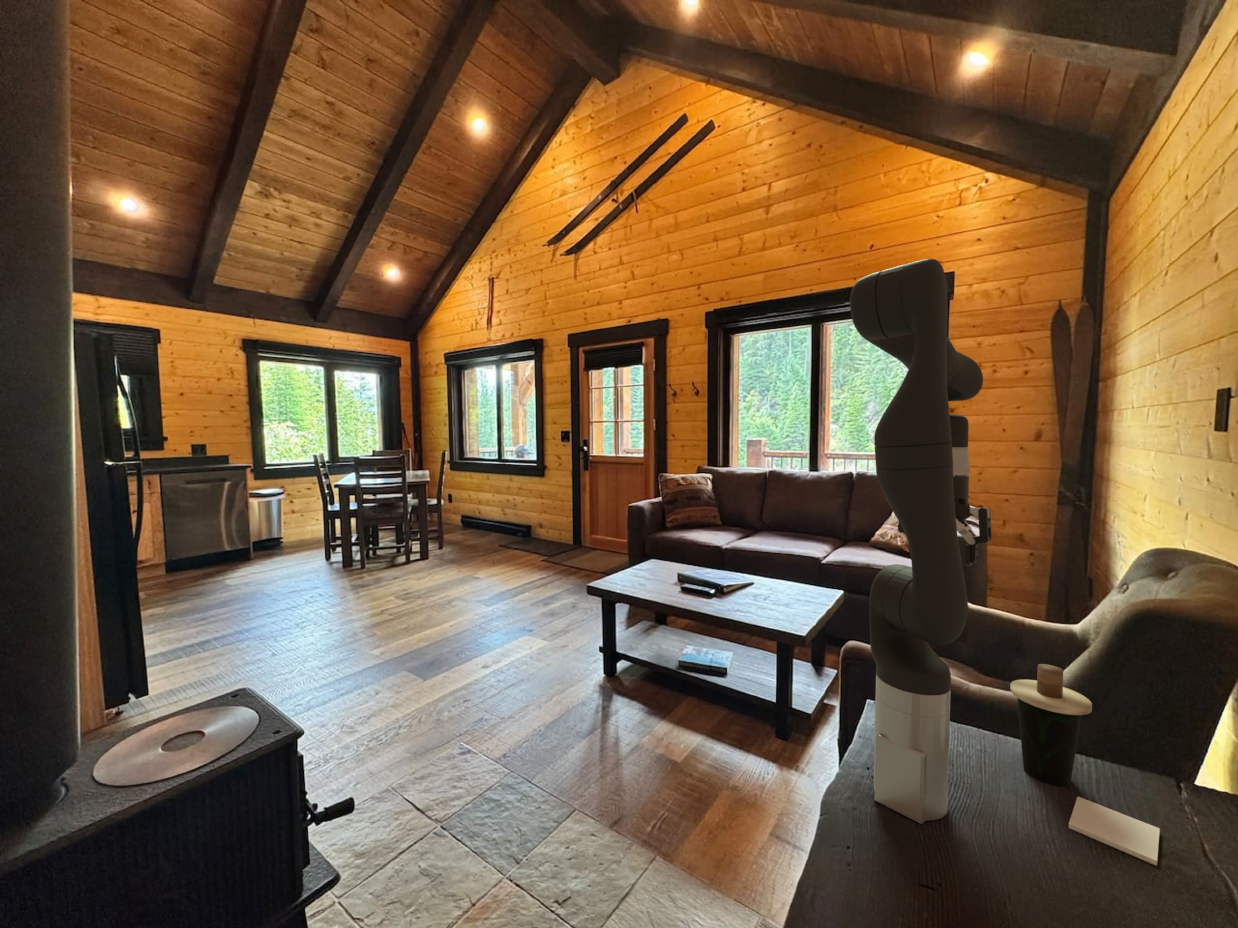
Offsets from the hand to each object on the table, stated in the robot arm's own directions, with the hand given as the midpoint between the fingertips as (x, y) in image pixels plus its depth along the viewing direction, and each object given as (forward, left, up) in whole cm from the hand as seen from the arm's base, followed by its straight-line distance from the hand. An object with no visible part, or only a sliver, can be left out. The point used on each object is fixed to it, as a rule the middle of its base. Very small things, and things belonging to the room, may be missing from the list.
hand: (941, 560), depth 91 cm
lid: (-4, -16, -18) cm, 24 cm away
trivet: (-12, -24, -30) cm, 40 cm away
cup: (-4, -16, -30) cm, 34 cm away
